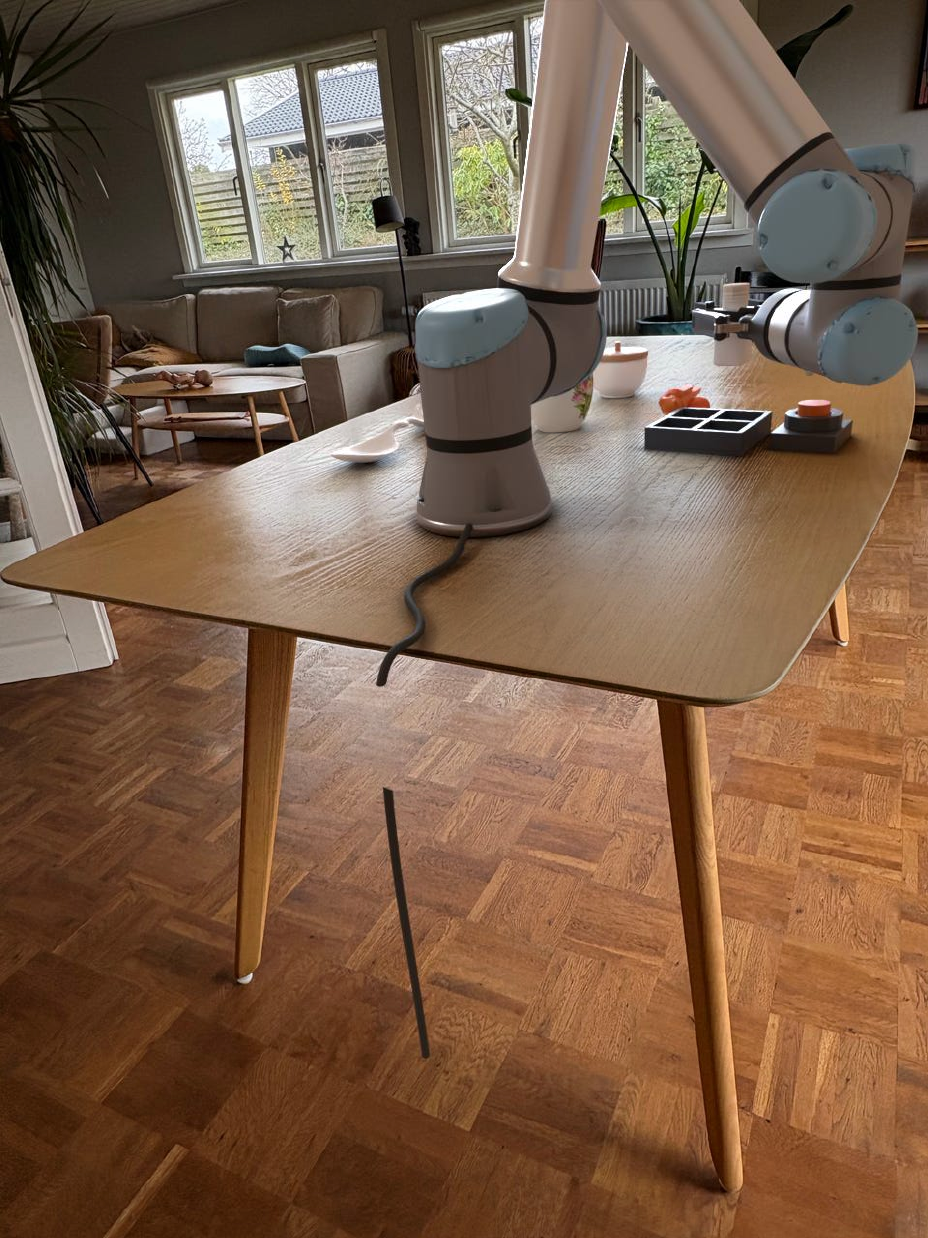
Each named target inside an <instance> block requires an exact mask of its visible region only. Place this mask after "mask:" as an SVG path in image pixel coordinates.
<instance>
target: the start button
mask: <svg viewBox="0 0 928 1238" xmlns="http://www.w3.org/2000/svg"><path fill="white" fill-rule="evenodd" d="M797 408H798V413H797V415H801V416H810V417H817V416H827V415H830V410H831V408H832V401H830V400H826V399H805V400H801V401H799V402H798V405H797Z"/></svg>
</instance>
